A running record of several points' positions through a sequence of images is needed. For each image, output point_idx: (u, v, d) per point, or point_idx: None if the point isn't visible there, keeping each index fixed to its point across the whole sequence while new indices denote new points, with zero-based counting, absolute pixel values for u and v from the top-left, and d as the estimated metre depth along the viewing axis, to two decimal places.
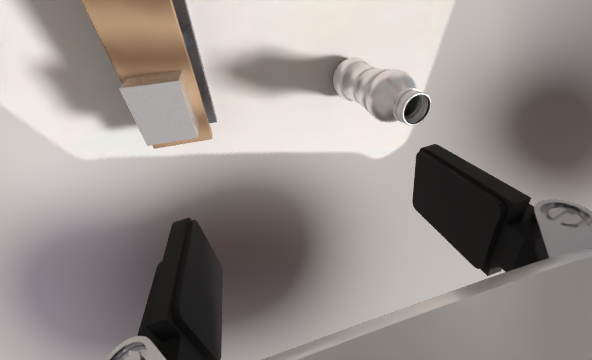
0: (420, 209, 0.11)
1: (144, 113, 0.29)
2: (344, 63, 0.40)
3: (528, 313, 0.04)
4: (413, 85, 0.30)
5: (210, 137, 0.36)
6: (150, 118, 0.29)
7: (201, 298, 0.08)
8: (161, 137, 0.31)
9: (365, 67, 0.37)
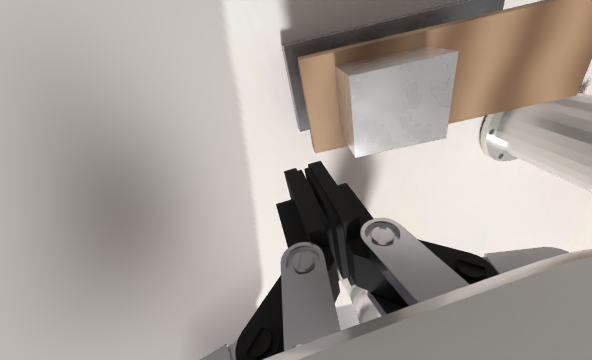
0: None
1: (410, 83, 0.17)
2: None
3: (528, 314, 0.04)
4: None
5: (317, 151, 0.23)
6: (400, 90, 0.17)
7: None
8: (363, 103, 0.17)
9: None
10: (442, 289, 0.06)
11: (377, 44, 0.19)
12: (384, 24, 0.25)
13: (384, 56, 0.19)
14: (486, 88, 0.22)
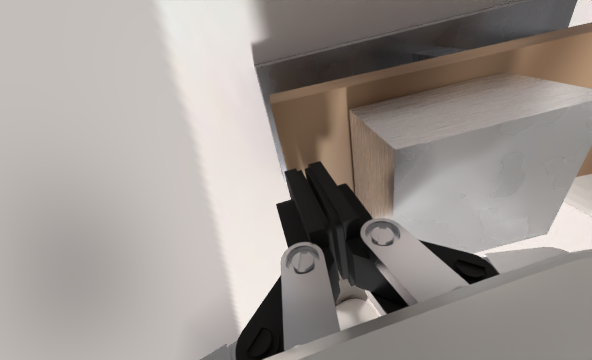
0: None
1: (511, 156, 0.08)
2: (375, 314, 0.32)
3: (528, 313, 0.04)
4: None
5: None
6: (490, 169, 0.08)
7: None
8: (416, 194, 0.08)
9: None
10: (441, 289, 0.06)
11: (409, 77, 0.11)
12: (406, 35, 0.17)
13: (438, 92, 0.10)
14: None
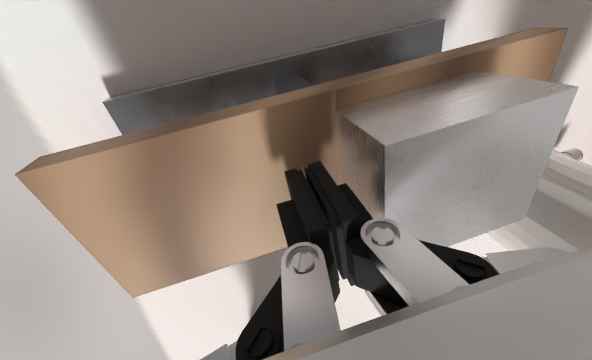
0: None
1: (490, 147, 0.09)
2: None
3: (528, 313, 0.04)
4: None
5: (136, 294, 0.14)
6: (472, 161, 0.09)
7: None
8: (405, 188, 0.09)
9: None
10: (442, 289, 0.06)
11: (181, 136, 0.10)
12: (263, 67, 0.17)
13: (419, 90, 0.11)
14: None
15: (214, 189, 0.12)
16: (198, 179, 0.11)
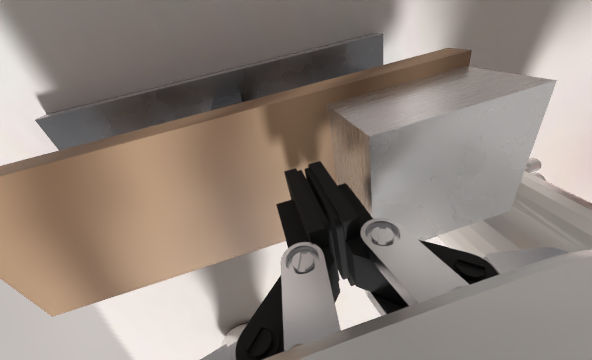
0: None
1: (472, 139, 0.09)
2: None
3: (528, 313, 0.04)
4: None
5: (55, 313, 0.14)
6: (455, 152, 0.09)
7: None
8: (391, 178, 0.09)
9: None
10: (442, 289, 0.06)
11: (70, 163, 0.10)
12: (198, 84, 0.17)
13: (407, 86, 0.11)
14: None
15: (117, 212, 0.12)
16: (98, 203, 0.11)
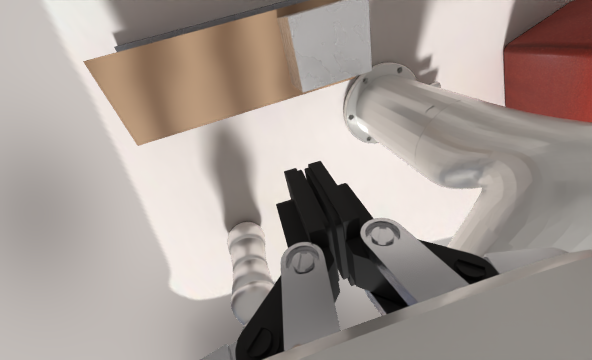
0: None
1: (336, 22, 0.21)
2: (258, 230, 0.44)
3: (528, 314, 0.04)
4: None
5: (139, 143, 0.25)
6: (330, 29, 0.21)
7: None
8: (302, 41, 0.21)
9: (264, 255, 0.41)
10: (442, 289, 0.06)
11: (156, 44, 0.22)
12: (208, 24, 0.29)
13: (315, 7, 0.23)
14: (275, 76, 0.26)
15: (175, 76, 0.23)
16: (166, 70, 0.23)
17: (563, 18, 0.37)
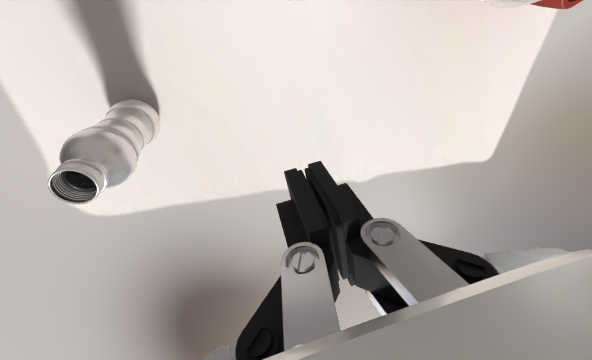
0: None
1: None
2: (146, 107, 0.35)
3: (529, 314, 0.04)
4: (117, 176, 0.26)
5: None
6: None
7: None
8: None
9: (141, 127, 0.32)
10: (441, 289, 0.06)
11: None
12: None
13: None
14: None
15: None
16: None
17: None
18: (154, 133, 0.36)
